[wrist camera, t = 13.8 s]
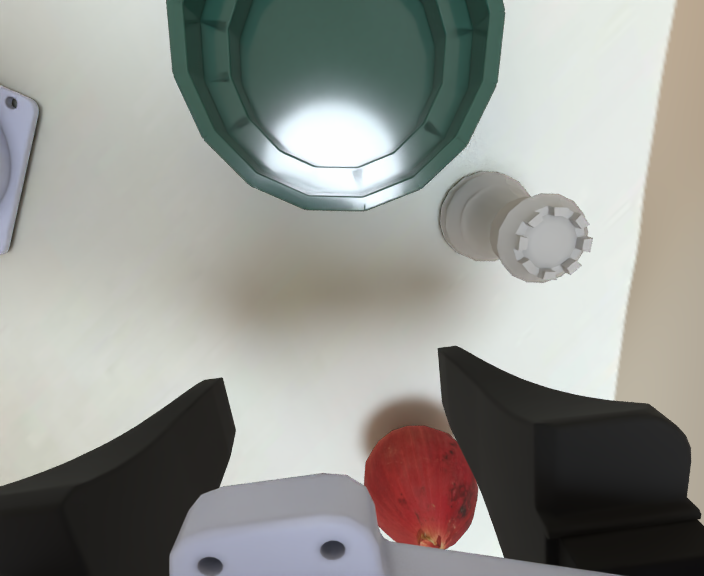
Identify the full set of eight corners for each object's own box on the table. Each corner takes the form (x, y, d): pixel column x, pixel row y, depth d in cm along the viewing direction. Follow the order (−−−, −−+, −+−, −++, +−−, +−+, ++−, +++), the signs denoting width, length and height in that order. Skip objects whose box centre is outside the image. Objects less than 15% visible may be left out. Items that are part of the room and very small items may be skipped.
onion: (442, 385, 25) (487, 485, 17) (466, 462, 26) (518, 585, 19) (348, 414, 25) (351, 525, 18) (377, 488, 27) (393, 620, 19)
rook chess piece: (451, 161, 21) (515, 162, 13) (535, 181, 22) (642, 193, 14) (427, 247, 22) (473, 292, 15) (507, 265, 23) (591, 318, 15)
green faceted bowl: (172, 138, 20) (128, 132, 16) (260, -149, 17) (234, -251, 13) (398, 238, 22) (412, 257, 18) (515, -8, 19) (566, -56, 15)
